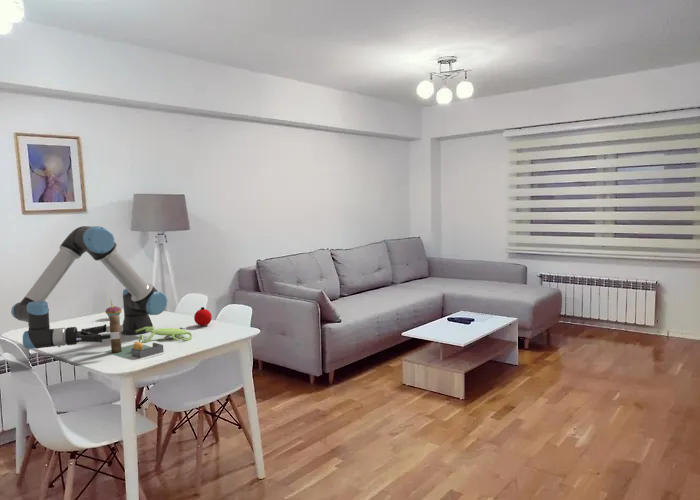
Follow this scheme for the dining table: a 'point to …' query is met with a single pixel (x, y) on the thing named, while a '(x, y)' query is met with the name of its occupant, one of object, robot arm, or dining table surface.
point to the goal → (147, 351)
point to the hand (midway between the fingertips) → (121, 331)
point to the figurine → (165, 333)
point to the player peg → (115, 328)
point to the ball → (138, 346)
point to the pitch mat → (126, 351)
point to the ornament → (202, 317)
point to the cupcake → (113, 310)
